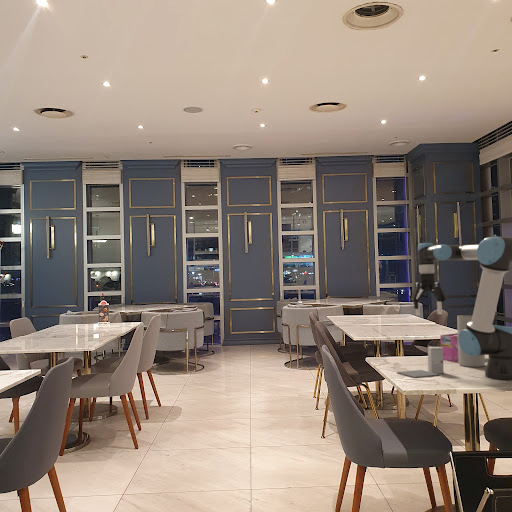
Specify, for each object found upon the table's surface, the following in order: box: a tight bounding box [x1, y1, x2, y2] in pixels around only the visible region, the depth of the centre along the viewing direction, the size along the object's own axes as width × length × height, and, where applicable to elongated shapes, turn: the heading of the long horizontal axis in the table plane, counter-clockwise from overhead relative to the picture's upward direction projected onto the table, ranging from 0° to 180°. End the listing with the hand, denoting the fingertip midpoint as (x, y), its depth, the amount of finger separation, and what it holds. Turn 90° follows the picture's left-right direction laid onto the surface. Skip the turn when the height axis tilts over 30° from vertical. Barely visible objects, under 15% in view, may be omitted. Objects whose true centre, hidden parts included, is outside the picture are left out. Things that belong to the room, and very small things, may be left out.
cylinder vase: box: [456, 315, 486, 368], centre depth 266 cm, size 12×12×25 cm
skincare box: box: [427, 346, 444, 374], centre depth 247 cm, size 6×4×12 cm
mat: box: [396, 369, 440, 379], centre depth 243 cm, size 13×14×1 cm
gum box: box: [439, 332, 459, 362], centre depth 289 cm, size 24×8×14 cm, turn 124°
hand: (429, 314), depth 263 cm, fingers open, 13 cm apart
